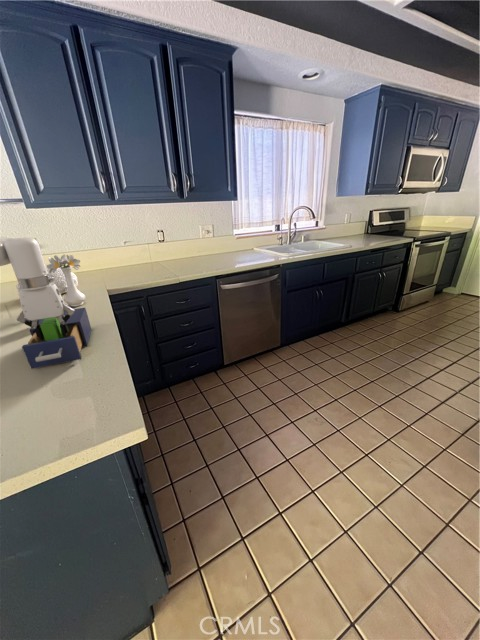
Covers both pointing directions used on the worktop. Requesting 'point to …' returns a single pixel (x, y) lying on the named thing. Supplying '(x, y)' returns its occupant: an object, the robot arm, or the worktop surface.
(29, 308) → the robot arm
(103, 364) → the worktop surface
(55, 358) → the drawer
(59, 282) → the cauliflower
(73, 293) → the flower vase
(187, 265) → the worktop surface
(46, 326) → the green rectangular box
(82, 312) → the cabinet
